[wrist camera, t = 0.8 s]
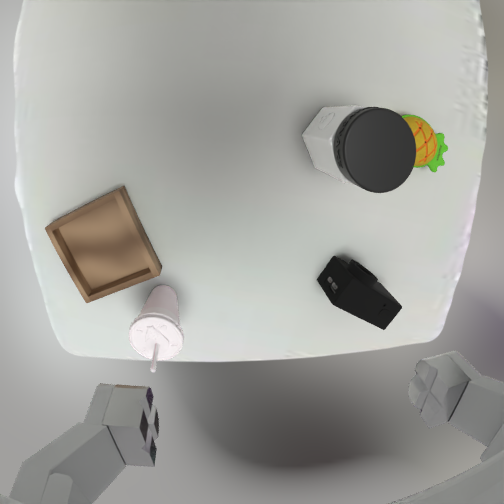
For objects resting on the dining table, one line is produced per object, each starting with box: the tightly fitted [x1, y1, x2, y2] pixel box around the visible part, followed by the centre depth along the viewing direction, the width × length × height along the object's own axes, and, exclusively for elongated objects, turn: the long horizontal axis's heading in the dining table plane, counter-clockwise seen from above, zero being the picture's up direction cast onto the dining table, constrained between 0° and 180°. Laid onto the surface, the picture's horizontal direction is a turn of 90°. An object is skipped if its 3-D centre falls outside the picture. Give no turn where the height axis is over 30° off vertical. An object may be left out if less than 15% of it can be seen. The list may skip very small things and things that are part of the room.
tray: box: [45, 186, 162, 303], centre depth 38 cm, size 12×12×2 cm
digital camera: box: [317, 256, 402, 330], centre depth 43 cm, size 10×5×7 cm, turn 58°
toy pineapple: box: [401, 115, 448, 172], centre depth 36 cm, size 7×10×5 cm
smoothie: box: [129, 285, 184, 372], centre depth 37 cm, size 6×6×14 cm
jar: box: [302, 105, 416, 193], centre depth 32 cm, size 9×8×12 cm
